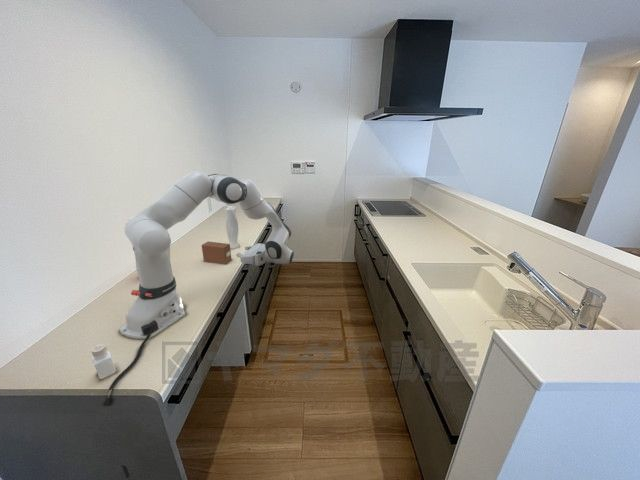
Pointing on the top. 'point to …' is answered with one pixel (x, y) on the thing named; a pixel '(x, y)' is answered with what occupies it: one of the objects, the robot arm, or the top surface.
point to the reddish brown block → (216, 252)
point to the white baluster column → (231, 226)
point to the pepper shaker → (103, 361)
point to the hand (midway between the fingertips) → (241, 251)
